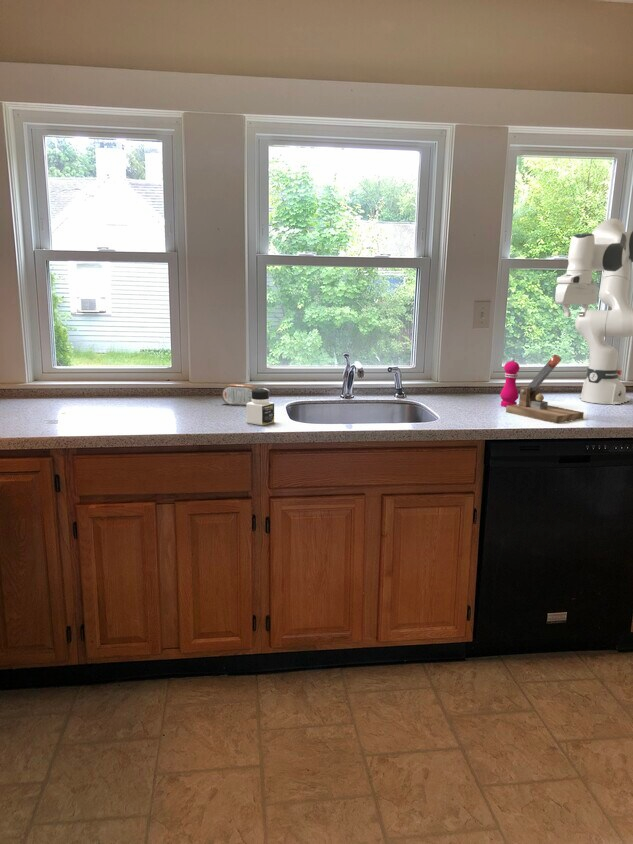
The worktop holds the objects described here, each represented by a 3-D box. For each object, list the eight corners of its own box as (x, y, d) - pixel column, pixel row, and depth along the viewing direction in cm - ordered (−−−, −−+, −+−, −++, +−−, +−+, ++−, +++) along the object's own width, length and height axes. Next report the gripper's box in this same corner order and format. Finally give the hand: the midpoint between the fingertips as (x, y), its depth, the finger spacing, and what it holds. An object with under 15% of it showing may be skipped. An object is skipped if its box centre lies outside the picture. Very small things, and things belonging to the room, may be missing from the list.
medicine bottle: (262, 425, 217) (262, 391, 215) (246, 423, 221) (245, 389, 218) (274, 422, 223) (274, 388, 221) (258, 419, 227) (258, 386, 224)
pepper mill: (518, 408, 256) (522, 359, 252) (500, 407, 257) (504, 358, 253) (516, 404, 263) (520, 357, 259) (498, 403, 264) (502, 356, 260)
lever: (524, 399, 247) (520, 393, 249) (530, 398, 249) (525, 392, 251) (557, 360, 233) (552, 354, 235) (562, 360, 235) (557, 354, 237)
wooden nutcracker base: (532, 408, 256) (534, 383, 254) (582, 418, 238) (585, 392, 235) (505, 412, 248) (508, 386, 246) (556, 423, 229) (558, 396, 227)
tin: (259, 405, 253) (259, 384, 251) (257, 407, 250) (257, 386, 248) (223, 403, 255) (223, 383, 254) (220, 405, 252) (220, 384, 250)
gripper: (588, 279, 240) (584, 316, 243) (553, 278, 229) (550, 316, 232) (603, 279, 235) (599, 317, 238) (568, 278, 224) (564, 317, 227)
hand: (574, 316), depth 235 cm, fingers open, 7 cm apart
